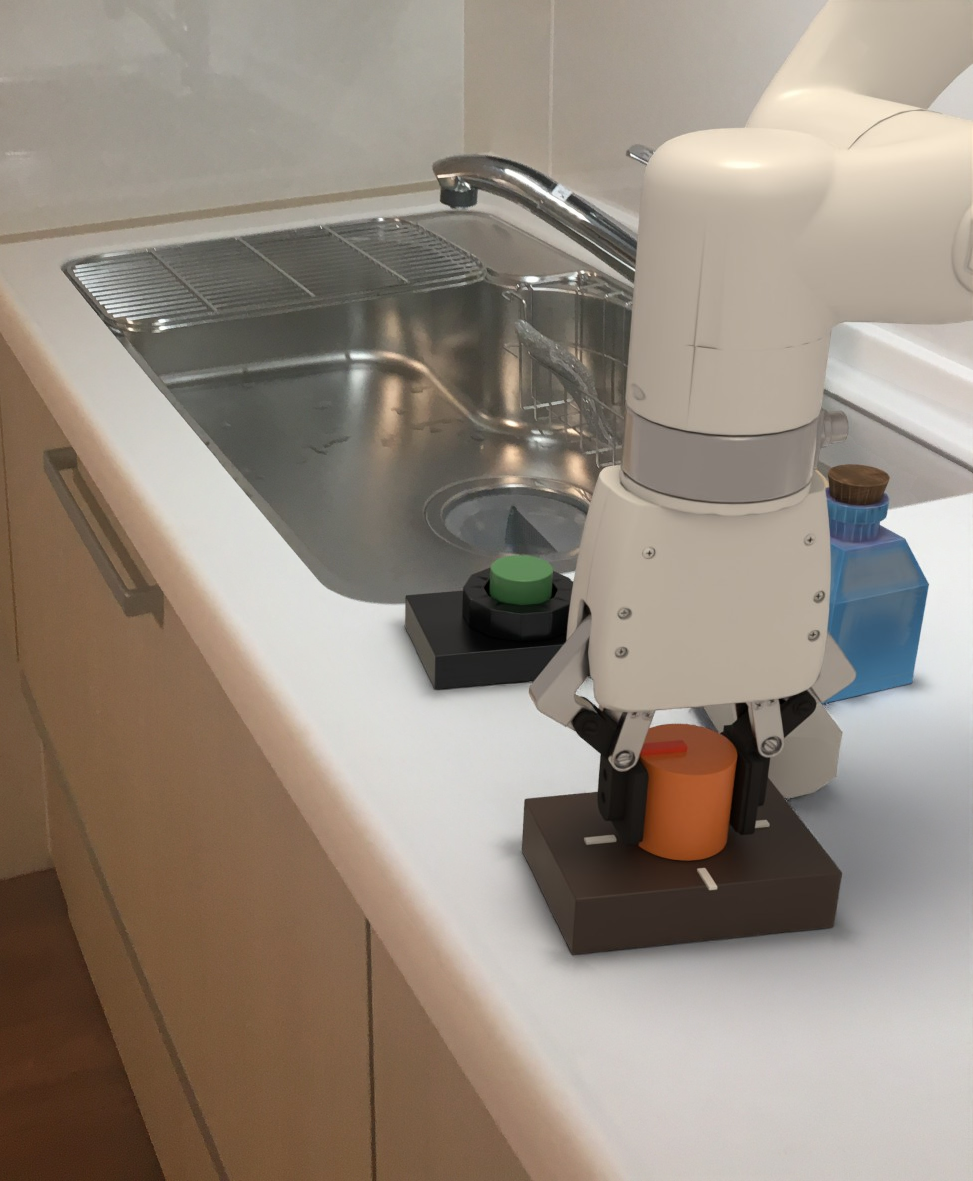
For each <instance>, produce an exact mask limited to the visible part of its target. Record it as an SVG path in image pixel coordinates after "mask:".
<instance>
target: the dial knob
mask: <svg viewBox="0 0 973 1181" xmlns="http://www.w3.org/2000/svg"><path fill="white" fill-rule="evenodd" d="M640 760H641V762H642V763H643V765H644V766H645V768H646V769H647V771H648V776H649V780H648V790H647V801H646V812H645V822H644V833H643V841H642V842H639V845H638V846H639V847H641V848H642V849H644V850H646V851H647V852H649V853H652V854H654V855H657V856H660V857H663V858H667V859H673V860H681V861H692V860H701V859H705V858H708V857H711V856H713V855H715V854H717V853H719V852H720V851H721V850H722V849H723V848H724V846H725V845H726V843H727V837H728V829H729V821H730V812H731V804H732V796H733V787H734V779H735V771H736V763H737V751H736V748H735V746H734V745H733V743H732V742H731V741H730V740H728V739H727V738H726V737H725V736H723V735H721V734H719V732H718V731H715V730H713V729H711V728H708V727H705V726H700V725H695V724H688V723H664V724H663V723H662V724H658V725H655V726H650V728H649V731H648V734H647V736H646V739H645V742H644V745H643V748H642V750H641V753H640Z"/></svg>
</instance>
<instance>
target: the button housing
mask: <svg viewBox="0 0 973 1181" xmlns="http://www.w3.org/2000/svg"><path fill="white" fill-rule="evenodd" d="M573 582H574V580H572V579H571V578H570V577H569V576H566V575H564V574H561V573H559V572H557V571H556V570H553V580H552V596H551V598H550V599H549V600H547V601H545V602H542V603H539V604H527V605H518V604H512V603H505V602H501V601H499V600H496V599H494V598H492V597H491V596H490V593H489V590H490V567H488V568H485V569H483V570H480V571H478V572H474V573H473V574H471V575H470V576H469V577H468V579H467V581H466V582H465V584H464V585H463V587H462V590H452V591H441V592H439V591H438V592H429V593H416V594H406V595H405V597H404V598H405V600H404V602H405V604H404V605H405V606H404V628H405V629H406V632H407V633H408V635H409V638H410V640H411V642H412V644H413V646H414V648H415V650H416V652H417V654H418V657H419V658H420V661H421V662H422V665H423V667H424V670H425V672H426V673H427V675H428V677H429V680H430V682H431V684H432V687H433V689H434V690H442V689H452V688H466V687H477V686H486V685H497V684H499V685H500V684H510V683H520V682H531V681H532V682H534V681H535V679H536V678H537V677H538V676H539V674H540V673H541V672H542V671H543V669H544V668H545V667H546V666H547V665H548V663H549V662H550V661H551V660H552V658H553V657H554V656H555V655H556V653H557V652H558V651H559V650H560V648H561V647H562V646H563V645H564V644H565V642H566V641H567V626H568V617H569V609H570V602H571V595H572V588H573Z"/></svg>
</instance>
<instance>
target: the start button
mask: <svg viewBox="0 0 973 1181" xmlns="http://www.w3.org/2000/svg"><path fill="white" fill-rule="evenodd" d="M489 568H490V590H489V593H490V596H491V597H492V598H494V599H496V600H499V601H501V602H505V603H512V604H518V605H527V604H539V603H542V602H545V601H547V600H549V599H550V598H551V596H552V580H553V571H554V567H553V565H552V564H551V563H550V562H548V561H547V560H545V559H543V558H540V557H537V556H532V555H525V554H524V555H523V554H514V555H506V556H502V557H499V558H497V559H495V560H493V562H492V563H491V564H490V567H489Z"/></svg>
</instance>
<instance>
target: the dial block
mask: <svg viewBox="0 0 973 1181" xmlns="http://www.w3.org/2000/svg"><path fill="white" fill-rule="evenodd" d="M597 793H598V791H590V792H581V793H580V792H579V793H570V794H560V795H559V794H558V795H548V796H540V797H539V796H538V797H528V798H524V800H523V815H522V816H523V817H522V818H523V819H522V834H521V835H522V837H521V838H522V839H521V851H522V853H523V856H524V857H525V858H524V859H525V860H526V862H527V865H529V868H530V870H531V872H532V875H533V876H534V878H535V880H536V883H537V884H538V886H539V889H540V891H541V893H542V895H543V897H544V899H545V901H546V903H547V905H548V907H549V909H550V911H551V913H552V915H553V917H554V920H555V922H556V924H557V926H558V928H559V931H560V932H561V935H562V936H563V939H564V940H565V942H566V944H567V946H568V949H569V951H570V953H571V954H572V955H579V954H587V953H597V952H607V951H617V950H627V949H637V948H645V947H655V946H665V945H674V944H685V943H693V942H704V941H713V940H723V939H732V938H741V937H751V936H760V935H769V934H779V933H788V932H797V931H798V932H799V931H808V930H818V929H827V928H834V926H835V920H836V915H837V908H838V902H839V896H840V890H841V883H842V879H843V878H842V877H843V871H842V870H841V869H840V867H839V866H838V865H837V864H836V862H835V861H834V860H833V859H832V857H831V856H830V854H829V853H828V852H827V851H826V849H825V848H824V847H823V846H822V845H821V843H820V842H819V841H818V840H817V838H816V837H815V835H814V834H813V833H812V832H811V830H810V829H809V828H808V826H807V825H806V824H805V823H804V821H803V820H802V818H800V816H799V815H798V814H797V812H796V811H795V810H794V809H793V807H792V806H791V804H790V803H789V802H788V801H787V800H786V799H787V798H784V797H783V796H782V794H781V793H780V792H779V790H778V789H777V788H776V787H775V785H774V784H773V783H772V781H771V780H770V779H769V778H768V780H767V788H766V796H765V802H764V804H763V806H758V809H757V817H756V824H755V831H754V834H749V835H740V834H739V832H738V833H737V832H735V830H734V829H733V828H732V826H731V825H730V823H729V829H728V837H727V843H726V845H725V846H724V848H723V849H722V850H721V851H720V852H719V853H717V854H715V855H713V856H711V857H708V858H705V859H701V860H692V861H681V860H673V859H667V858H663V857H660V856H657V855H654V854H652V853H649V852H647V851H646V850H644V849H642V848H641V847H639V846H638V845H637V846H625V844H624V843H623V841H622V839H621V838H620V836H619V834H618V832H617V831H616V829H615V827H614V826H613V824H612V822H611V821H605V820H604V819H603V817H602V815H601V814H600V811H599V808H598V803H597Z"/></svg>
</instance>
